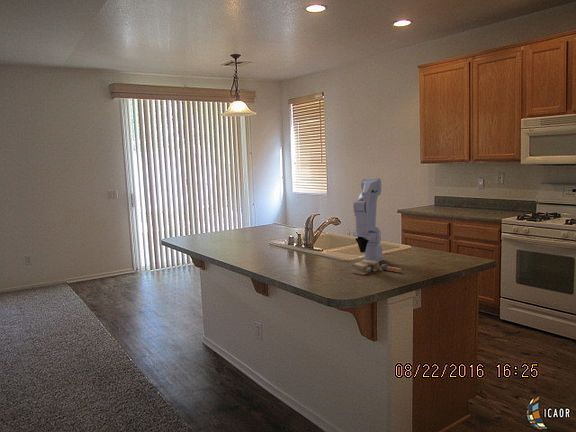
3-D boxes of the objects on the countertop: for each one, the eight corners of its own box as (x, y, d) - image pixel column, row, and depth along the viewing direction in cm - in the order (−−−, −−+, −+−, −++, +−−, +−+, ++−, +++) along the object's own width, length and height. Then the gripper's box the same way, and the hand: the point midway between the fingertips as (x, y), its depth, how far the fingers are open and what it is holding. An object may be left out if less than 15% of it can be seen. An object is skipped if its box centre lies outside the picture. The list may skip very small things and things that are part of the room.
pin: (353, 270, 235) (353, 264, 235) (361, 268, 239) (360, 262, 239) (366, 273, 229) (366, 267, 229) (374, 271, 233) (373, 265, 232)
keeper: (380, 269, 233) (380, 265, 233) (384, 268, 235) (384, 264, 235) (399, 273, 225) (399, 268, 225) (402, 271, 227) (402, 267, 227)
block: (368, 267, 240) (367, 259, 239) (379, 269, 234) (378, 261, 234) (352, 272, 232) (351, 264, 231) (363, 274, 227) (362, 266, 226)
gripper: (347, 224, 241) (348, 250, 243) (361, 227, 227) (363, 255, 229) (359, 222, 243) (360, 249, 245) (374, 226, 230) (375, 253, 232)
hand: (362, 252), depth 237 cm, fingers closed
